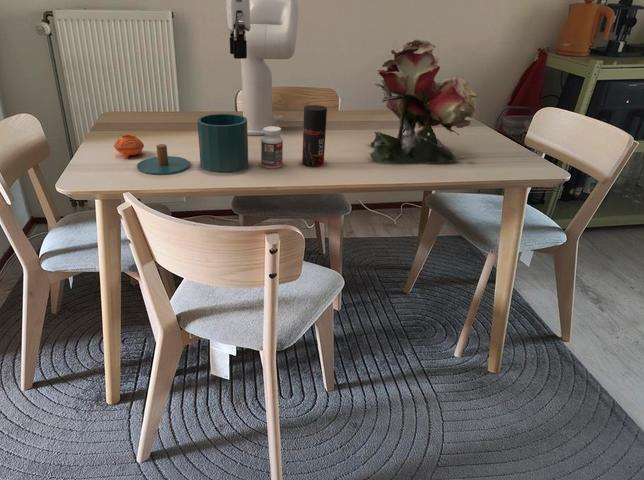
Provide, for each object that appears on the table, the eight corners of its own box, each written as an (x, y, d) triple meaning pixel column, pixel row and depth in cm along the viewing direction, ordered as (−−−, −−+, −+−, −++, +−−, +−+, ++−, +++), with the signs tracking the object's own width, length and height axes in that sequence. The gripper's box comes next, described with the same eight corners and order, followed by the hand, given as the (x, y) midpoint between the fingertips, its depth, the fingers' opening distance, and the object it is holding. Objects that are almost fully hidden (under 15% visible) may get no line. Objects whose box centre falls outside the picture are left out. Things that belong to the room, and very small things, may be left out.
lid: (191, 159, 138) (189, 137, 135) (188, 176, 127) (186, 153, 123) (141, 160, 137) (138, 138, 134) (134, 177, 125) (130, 154, 122)
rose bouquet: (476, 164, 138) (502, 46, 123) (372, 165, 136) (386, 45, 121) (444, 137, 160) (462, 35, 145) (354, 138, 158) (364, 34, 143)
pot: (107, 157, 137) (108, 132, 135) (130, 157, 144) (130, 133, 142) (127, 162, 133) (127, 136, 131) (149, 161, 140) (150, 136, 138)
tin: (246, 158, 139) (245, 113, 133) (249, 174, 129) (248, 125, 122) (201, 159, 138) (198, 113, 132) (200, 175, 127) (196, 126, 121)
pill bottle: (279, 169, 132) (280, 132, 127) (259, 167, 133) (258, 130, 128) (284, 162, 137) (284, 126, 132) (264, 161, 138) (263, 125, 133)
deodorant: (317, 168, 133) (320, 111, 125) (298, 164, 136) (299, 108, 128) (327, 162, 137) (331, 107, 130) (308, 158, 140) (311, 104, 132)
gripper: (256, -22, 112) (257, 60, 120) (247, -21, 126) (248, 52, 135) (223, -23, 110) (226, 60, 119) (217, -22, 125) (220, 52, 133)
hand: (238, 56), depth 127 cm, fingers open, 9 cm apart
